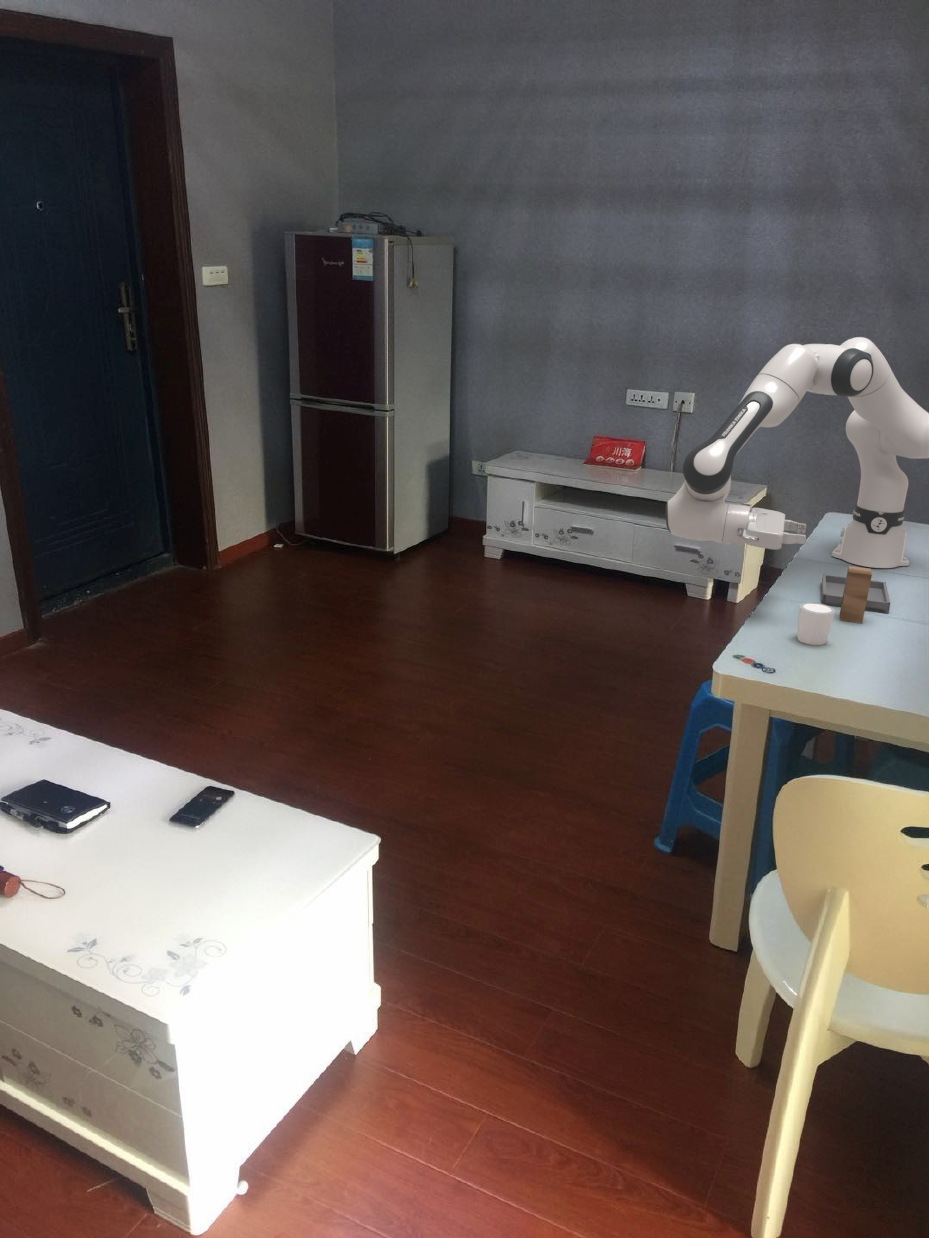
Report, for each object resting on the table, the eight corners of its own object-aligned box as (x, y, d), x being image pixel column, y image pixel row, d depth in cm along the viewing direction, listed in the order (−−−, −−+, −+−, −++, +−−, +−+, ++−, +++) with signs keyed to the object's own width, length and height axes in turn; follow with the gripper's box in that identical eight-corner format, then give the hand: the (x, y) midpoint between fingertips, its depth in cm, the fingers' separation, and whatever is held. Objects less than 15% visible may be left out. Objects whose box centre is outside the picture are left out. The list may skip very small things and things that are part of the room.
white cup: (829, 636, 198) (835, 604, 196) (829, 648, 192) (835, 615, 189) (794, 631, 200) (799, 600, 198) (793, 643, 194) (799, 610, 191)
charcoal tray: (821, 583, 231) (822, 574, 230) (883, 591, 227) (885, 582, 226) (821, 604, 217) (823, 594, 216) (888, 613, 213) (890, 603, 212)
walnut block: (839, 613, 211) (848, 566, 208) (861, 616, 210) (870, 568, 206) (839, 620, 207) (849, 572, 204) (862, 623, 206) (871, 574, 202)
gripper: (738, 522, 199) (808, 531, 196) (744, 501, 218) (808, 509, 214) (734, 551, 202) (803, 561, 198) (740, 528, 220) (803, 536, 216)
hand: (805, 534), depth 206 cm, fingers open, 8 cm apart
